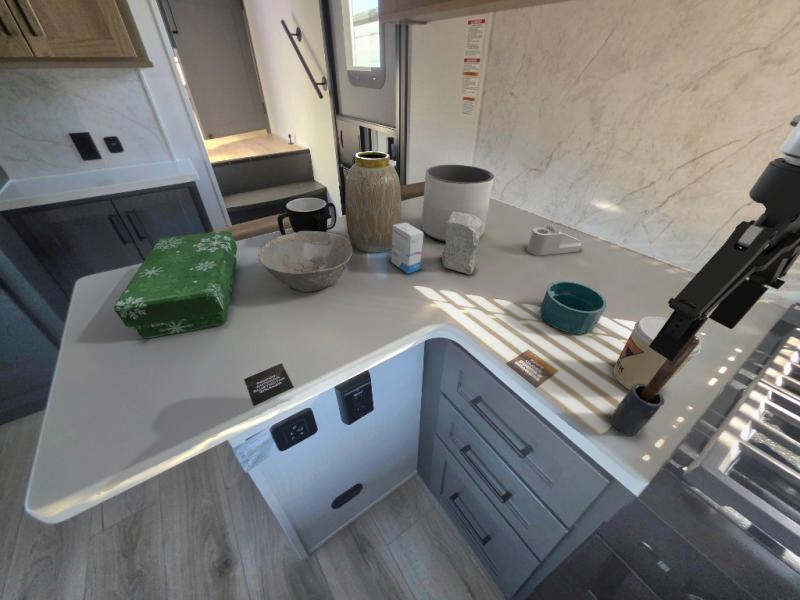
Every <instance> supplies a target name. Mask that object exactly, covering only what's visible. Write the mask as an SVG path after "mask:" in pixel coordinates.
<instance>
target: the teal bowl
mask: <svg viewBox="0 0 800 600" xmlns="http://www.w3.org/2000/svg"><path fill="white" fill-rule="evenodd" d="M606 308H607V300H606V299H605V297H604V296H603V295H602V294H601V293H600V292H599V291H597V290H596V289H594V288H592V287H590V286H589V285H585V284H583V283H579V282H575V281H569V280H560V281H559V280H558V281H554V282H551V283H550V284H549V285H548V286H547V289H546V291H545V294H544V296H543V299H542V302H541V304H540V307H539V312H540V315H541V317H542V319H544V321H545V322H547V323H548V324H549V325H551V326H552V327H554V328H556V329H558V330H560V331H563V332H567V333H570V334H576V335H577V334H578V335H580V334H589V333H590V332H591V333H592V331H594V330H595V328H596V327H597V325H598V324H599V322H600V319H602V316H603V314H604V312H605V310H606Z"/></svg>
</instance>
